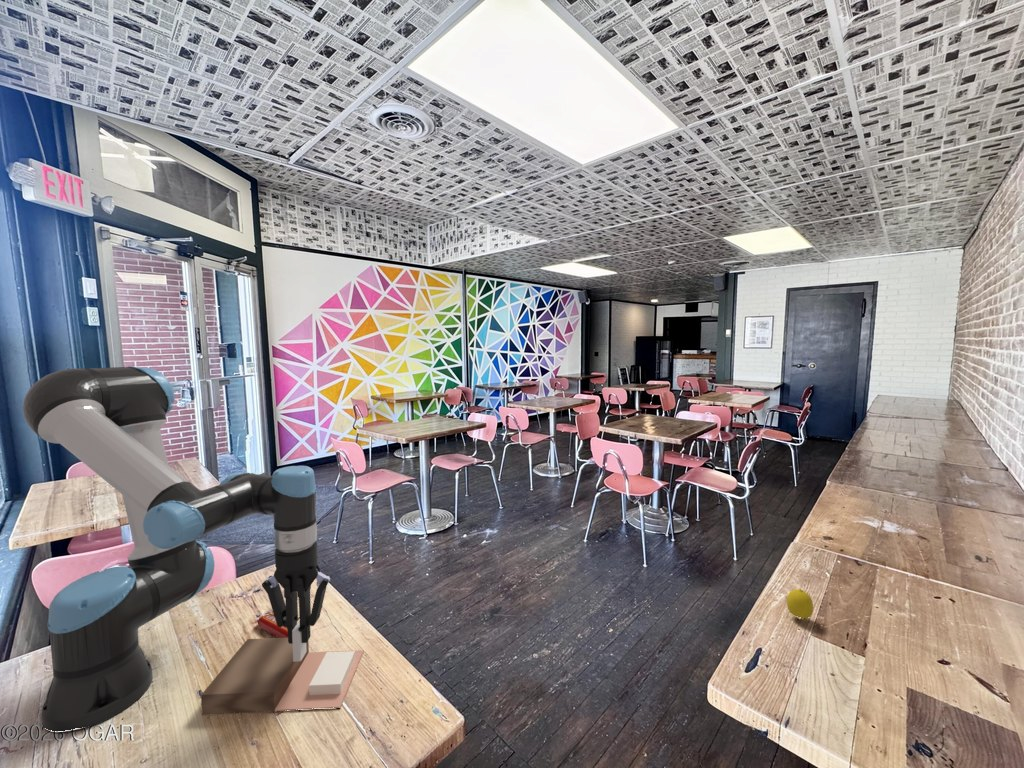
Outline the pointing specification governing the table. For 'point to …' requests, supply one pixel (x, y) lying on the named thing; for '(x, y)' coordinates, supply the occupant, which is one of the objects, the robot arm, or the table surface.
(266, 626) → the candy bar
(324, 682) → the tile
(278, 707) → the mat
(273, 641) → the serving board
